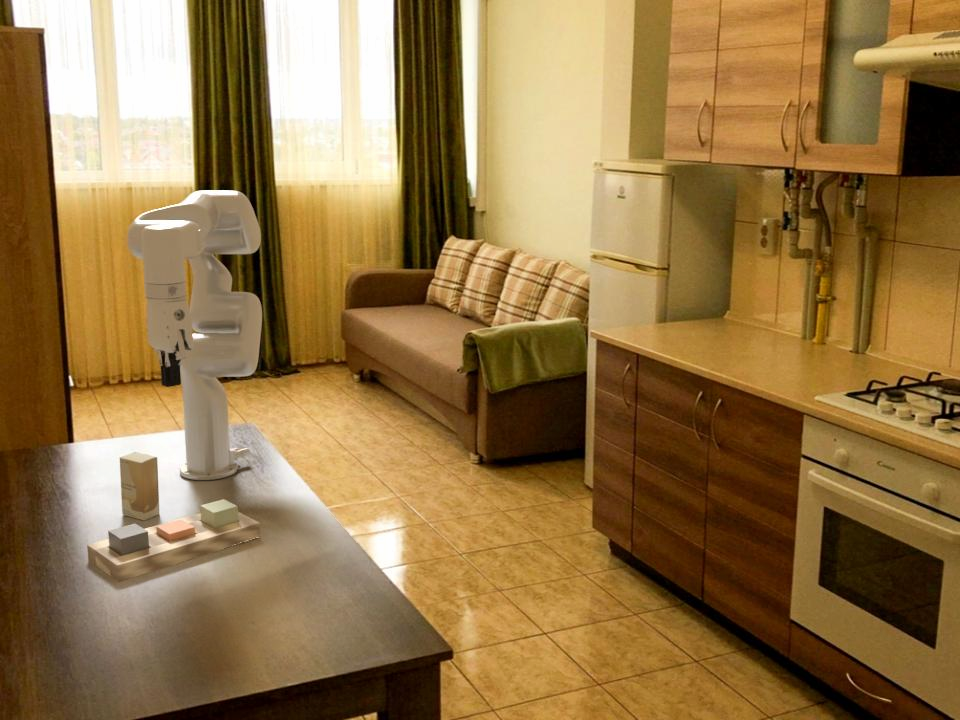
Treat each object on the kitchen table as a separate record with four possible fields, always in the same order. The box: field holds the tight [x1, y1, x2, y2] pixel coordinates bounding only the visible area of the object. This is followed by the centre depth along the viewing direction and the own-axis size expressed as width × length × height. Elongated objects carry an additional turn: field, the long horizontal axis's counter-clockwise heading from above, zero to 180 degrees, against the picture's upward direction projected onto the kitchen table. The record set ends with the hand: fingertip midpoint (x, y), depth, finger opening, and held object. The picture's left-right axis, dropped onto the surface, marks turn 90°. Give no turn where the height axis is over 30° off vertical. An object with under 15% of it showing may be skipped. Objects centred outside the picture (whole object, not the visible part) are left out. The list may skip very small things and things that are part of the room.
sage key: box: [199, 498, 239, 529], centre depth 193 cm, size 5×5×4 cm
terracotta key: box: [155, 518, 195, 542], centre depth 187 cm, size 5×5×4 cm
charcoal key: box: [107, 523, 149, 556], centre depth 181 cm, size 5×5×4 cm
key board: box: [86, 511, 261, 583], centre depth 187 cm, size 28×12×3 cm, turn 134°
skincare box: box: [119, 451, 160, 521], centre depth 202 cm, size 6×4×12 cm
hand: (171, 385), depth 197 cm, fingers closed
